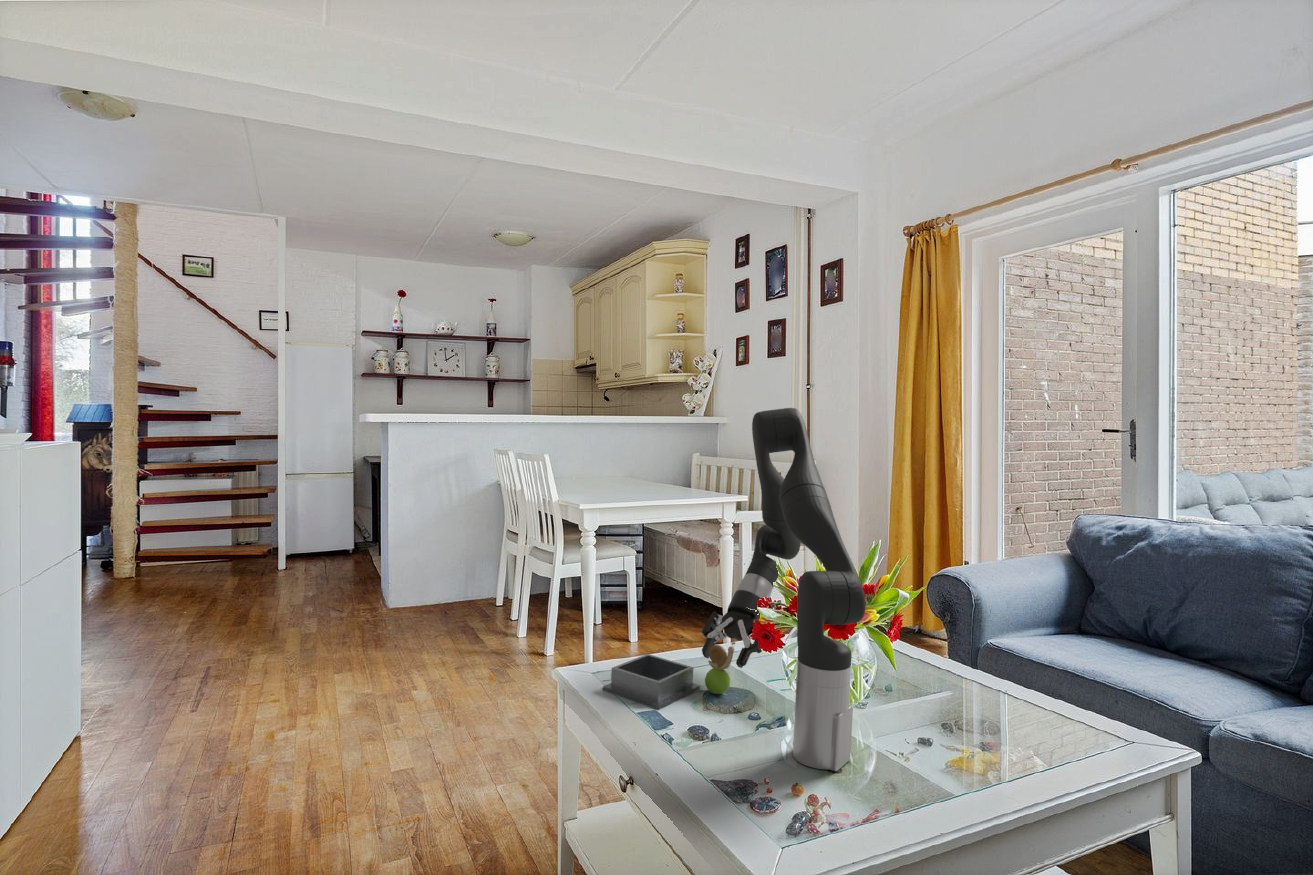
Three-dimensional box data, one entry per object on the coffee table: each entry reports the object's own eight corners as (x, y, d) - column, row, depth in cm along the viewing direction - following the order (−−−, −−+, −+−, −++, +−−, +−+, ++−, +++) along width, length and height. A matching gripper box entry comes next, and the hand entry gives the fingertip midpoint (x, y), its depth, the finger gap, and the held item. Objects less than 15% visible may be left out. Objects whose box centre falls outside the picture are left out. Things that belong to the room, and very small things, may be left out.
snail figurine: (724, 701, 154) (727, 644, 154) (699, 693, 158) (702, 638, 158) (738, 694, 159) (741, 639, 158) (713, 686, 163) (715, 632, 162)
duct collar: (700, 688, 161) (701, 667, 161) (659, 709, 149) (660, 685, 149) (645, 671, 170) (646, 651, 170) (602, 689, 158) (603, 667, 158)
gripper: (718, 583, 169) (687, 644, 161) (774, 594, 161) (744, 659, 152) (729, 602, 174) (700, 662, 165) (784, 614, 165) (756, 678, 157)
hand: (721, 660), depth 159 cm, fingers open, 8 cm apart
